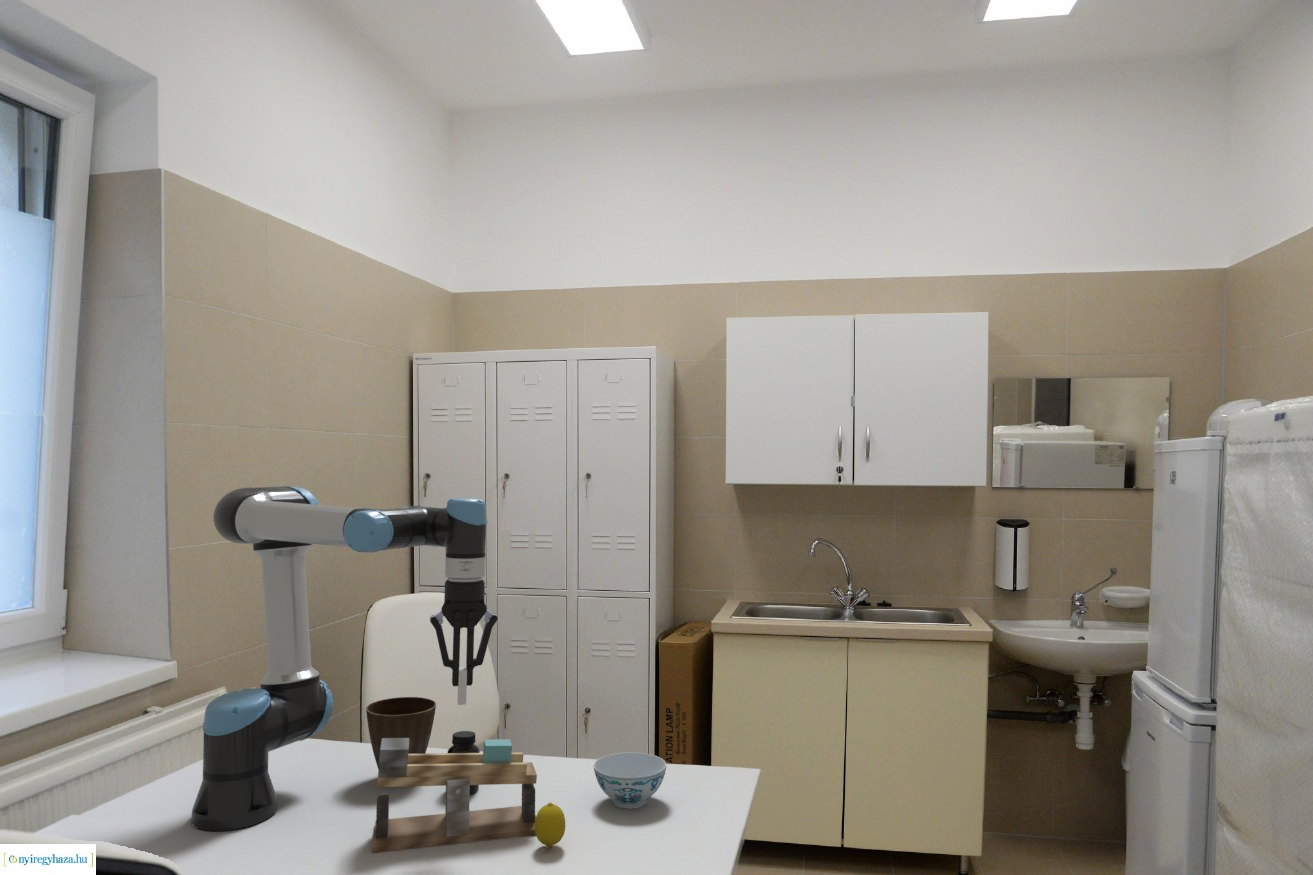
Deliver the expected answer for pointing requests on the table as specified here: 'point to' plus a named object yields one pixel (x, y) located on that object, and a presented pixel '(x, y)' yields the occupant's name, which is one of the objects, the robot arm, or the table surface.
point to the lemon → (550, 825)
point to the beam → (446, 767)
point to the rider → (497, 751)
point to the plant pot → (401, 722)
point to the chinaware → (630, 777)
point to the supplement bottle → (465, 748)
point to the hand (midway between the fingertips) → (461, 702)
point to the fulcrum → (453, 821)
